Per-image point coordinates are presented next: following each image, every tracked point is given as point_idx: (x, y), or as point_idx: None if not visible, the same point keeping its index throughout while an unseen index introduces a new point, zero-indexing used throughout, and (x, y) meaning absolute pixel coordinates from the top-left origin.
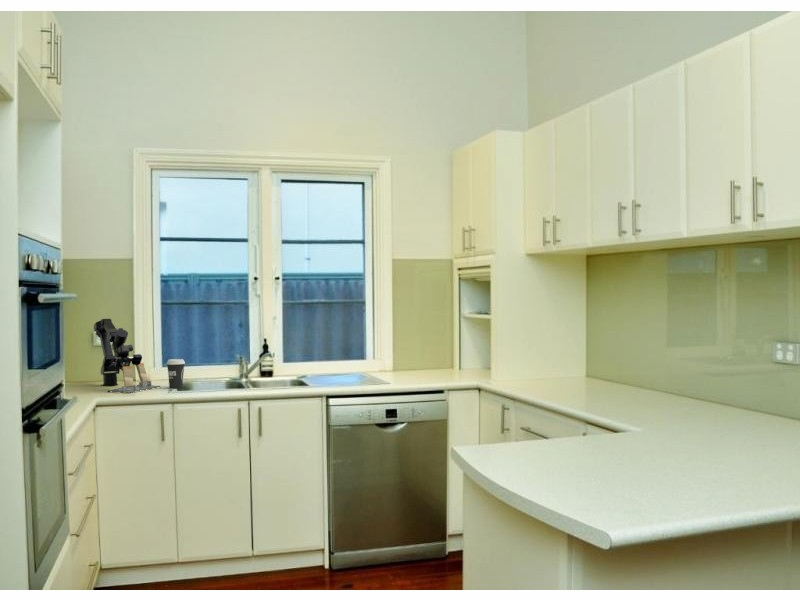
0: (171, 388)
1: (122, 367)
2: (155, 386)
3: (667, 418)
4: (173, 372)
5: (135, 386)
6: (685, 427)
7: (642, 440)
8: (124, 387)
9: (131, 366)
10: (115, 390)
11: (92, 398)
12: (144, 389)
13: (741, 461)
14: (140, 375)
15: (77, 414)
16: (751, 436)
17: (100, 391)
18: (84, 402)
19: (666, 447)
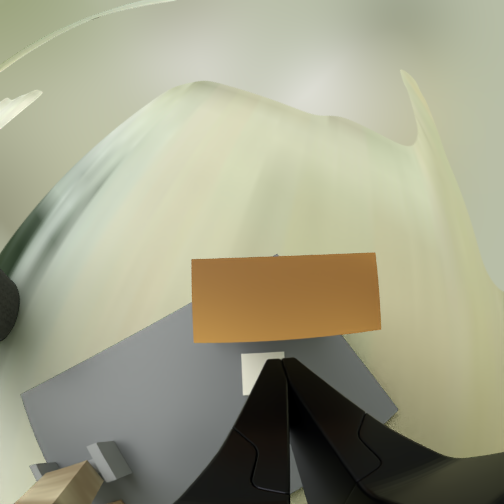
0: (18, 298)
1: (377, 305)
2: (45, 394)
3: (58, 32)
4: None
5: None
6: (77, 23)
7: (112, 11)
8: None
9: (196, 262)
10: (350, 380)
11: (443, 208)
12: (140, 333)
13: (129, 4)
14: (69, 498)
15: (405, 72)
16: (86, 18)
17: None
18: (441, 151)
19: (120, 8)
